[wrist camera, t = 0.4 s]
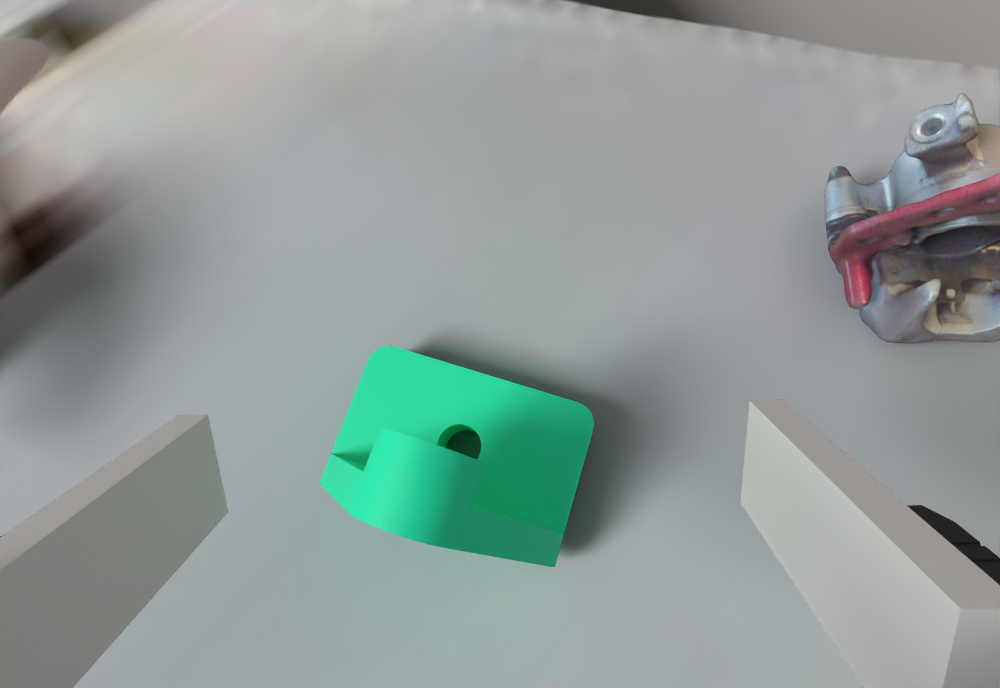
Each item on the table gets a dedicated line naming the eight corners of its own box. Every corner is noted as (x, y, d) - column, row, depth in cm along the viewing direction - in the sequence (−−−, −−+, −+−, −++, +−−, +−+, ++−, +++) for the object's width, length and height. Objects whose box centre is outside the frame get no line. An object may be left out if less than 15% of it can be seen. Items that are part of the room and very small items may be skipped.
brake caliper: (840, 388, 27) (943, 128, 19) (765, 273, 35) (817, 66, 28) (1098, 385, 26) (1305, 112, 19) (955, 268, 35) (1058, 53, 27)
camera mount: (595, 416, 30) (617, 373, 20) (554, 561, 28) (556, 592, 18) (389, 353, 32) (317, 286, 22) (338, 485, 30) (235, 476, 20)
